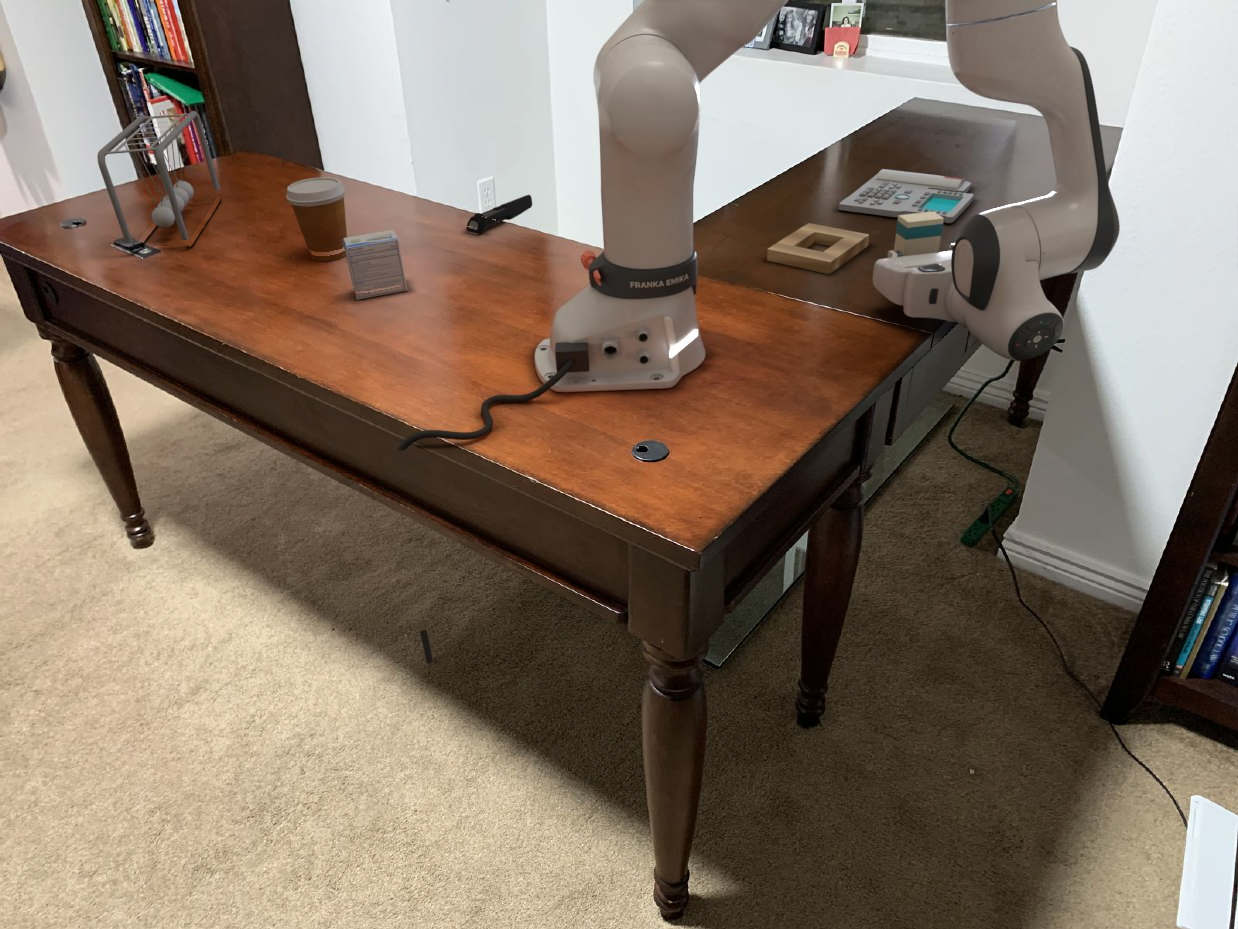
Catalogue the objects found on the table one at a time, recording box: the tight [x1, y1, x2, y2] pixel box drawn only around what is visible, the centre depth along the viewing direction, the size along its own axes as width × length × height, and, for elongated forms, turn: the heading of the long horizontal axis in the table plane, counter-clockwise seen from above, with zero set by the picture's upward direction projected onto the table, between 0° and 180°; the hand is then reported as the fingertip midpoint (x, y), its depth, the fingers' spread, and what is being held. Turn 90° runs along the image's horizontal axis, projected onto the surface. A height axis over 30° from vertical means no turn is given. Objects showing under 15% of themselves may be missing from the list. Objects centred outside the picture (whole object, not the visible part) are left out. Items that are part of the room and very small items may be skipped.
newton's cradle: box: [97, 110, 221, 244], centre depth 170 cm, size 30×10×18 cm, turn 9°
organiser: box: [766, 222, 870, 275], centre depth 149 cm, size 14×11×2 cm
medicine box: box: [343, 229, 408, 301], centre depth 142 cm, size 8×4×9 cm, turn 111°
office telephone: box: [837, 168, 974, 224], centre depth 169 cm, size 23×3×20 cm
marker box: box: [893, 212, 944, 256], centre depth 135 cm, size 6×3×10 cm, turn 101°
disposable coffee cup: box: [285, 176, 348, 262], centre depth 155 cm, size 10×10×12 cm
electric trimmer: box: [465, 194, 533, 236], centre depth 168 cm, size 4×16×3 cm, turn 142°
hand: (922, 251), depth 134 cm, fingers open, 8 cm apart
